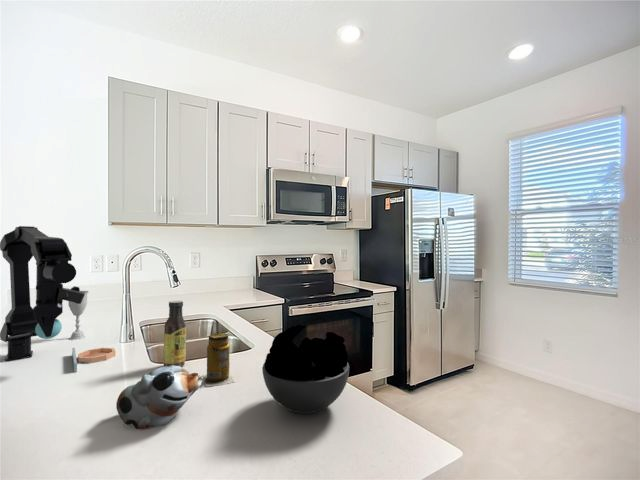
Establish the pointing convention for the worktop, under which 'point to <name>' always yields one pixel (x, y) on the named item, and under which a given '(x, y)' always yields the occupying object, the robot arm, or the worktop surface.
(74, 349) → the low wall
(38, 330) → the ball
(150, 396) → the lucky cat figurine
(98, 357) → the saucer
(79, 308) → the chalice
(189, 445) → the worktop surface
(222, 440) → the worktop surface
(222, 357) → the condiment
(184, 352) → the sauce bottle
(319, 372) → the coal bowl
